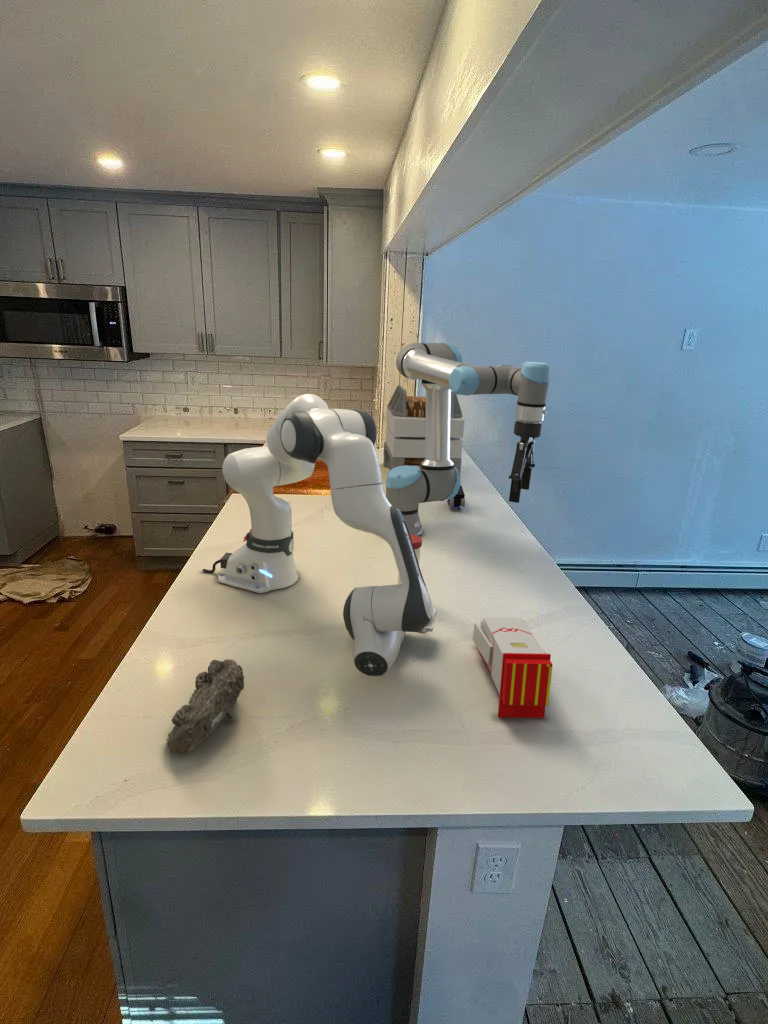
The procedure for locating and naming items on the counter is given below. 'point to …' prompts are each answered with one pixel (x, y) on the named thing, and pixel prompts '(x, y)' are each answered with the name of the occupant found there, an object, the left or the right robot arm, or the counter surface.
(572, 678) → the counter surface
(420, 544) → the lid
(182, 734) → the fossil
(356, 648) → the left robot arm
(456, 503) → the figurine character
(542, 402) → the right robot arm
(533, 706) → the toy
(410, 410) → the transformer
